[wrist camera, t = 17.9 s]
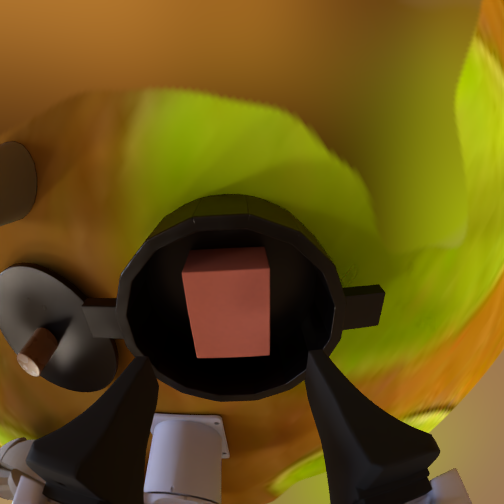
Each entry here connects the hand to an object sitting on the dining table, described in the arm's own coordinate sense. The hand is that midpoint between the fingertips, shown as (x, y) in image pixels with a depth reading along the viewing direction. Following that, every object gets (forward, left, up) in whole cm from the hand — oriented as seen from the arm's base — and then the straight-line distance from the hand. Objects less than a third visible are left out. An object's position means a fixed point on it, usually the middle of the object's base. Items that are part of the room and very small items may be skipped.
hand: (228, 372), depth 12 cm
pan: (0, 0, -7) cm, 7 cm away
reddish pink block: (0, 0, -7) cm, 7 cm away
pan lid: (-4, +16, -7) cm, 18 cm away
